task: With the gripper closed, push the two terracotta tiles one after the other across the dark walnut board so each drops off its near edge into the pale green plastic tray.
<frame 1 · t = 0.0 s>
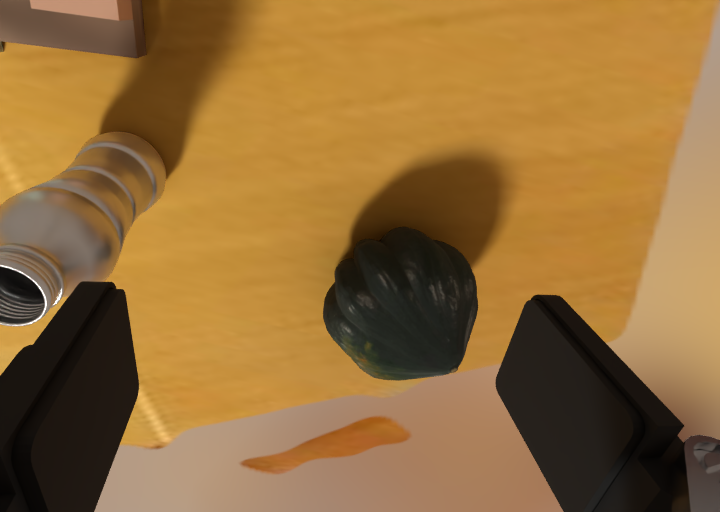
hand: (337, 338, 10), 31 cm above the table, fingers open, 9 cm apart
squash: (389, 271, 47), on the table
plastic bottle: (133, 163, 38), on the table
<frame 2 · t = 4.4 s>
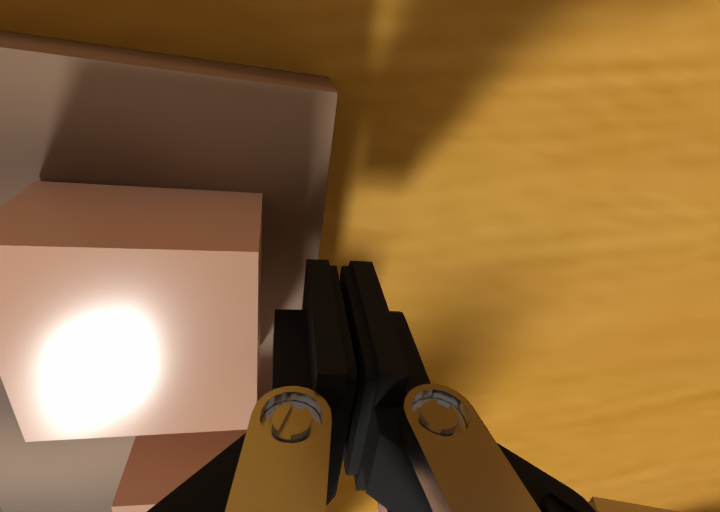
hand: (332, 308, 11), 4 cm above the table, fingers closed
tile a: (164, 276, 11), point 3 cm above the table
tile b: (224, 460, 16), point 2 cm above the table, touching board
board: (159, 327, 15), on the table
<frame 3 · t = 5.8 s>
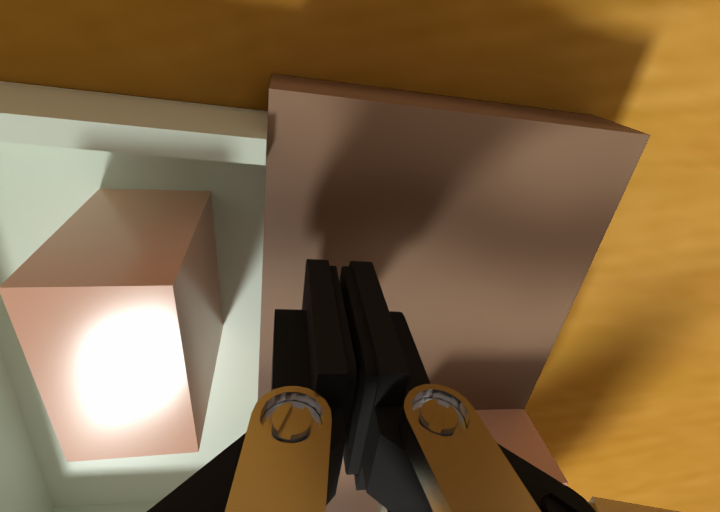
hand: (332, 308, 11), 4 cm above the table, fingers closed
tray: (133, 352, 16), on the table
tile a: (205, 311, 12), point 3 cm above the table, tilted 90°, touching tray
tile b: (447, 453, 17), point 2 cm above the table, touching board
board: (391, 334, 17), on the table
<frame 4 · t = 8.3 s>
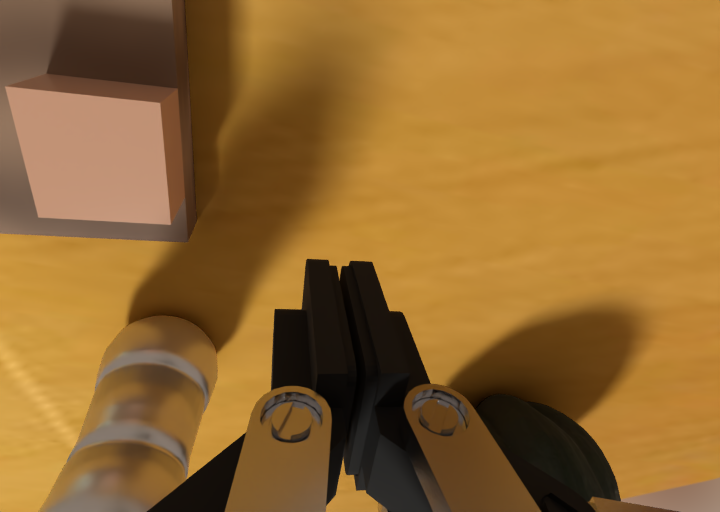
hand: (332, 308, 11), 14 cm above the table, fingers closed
squash: (480, 428, 38), on the table
tile b: (121, 140, 19), point 2 cm above the table, touching board
plastic bottle: (172, 340, 28), on the table
board: (65, 28, 19), on the table
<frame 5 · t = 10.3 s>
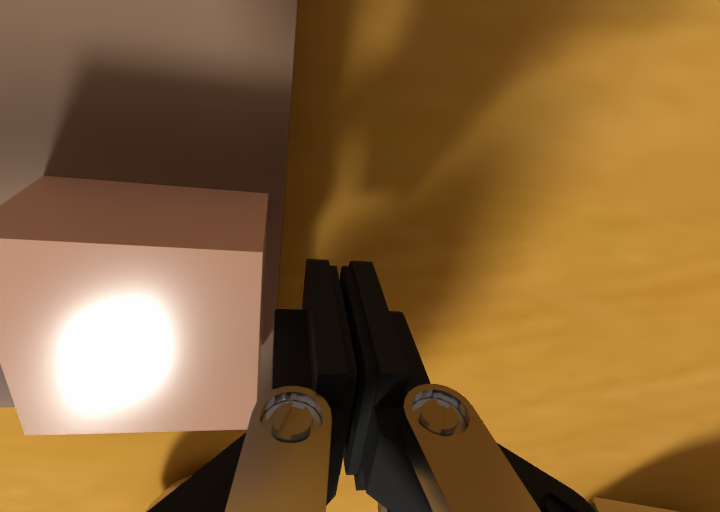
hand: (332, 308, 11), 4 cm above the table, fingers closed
tile b: (168, 273, 11), point 3 cm above the table, touching board, gripper
plastic bottle: (220, 491, 21), on the table
board: (94, 88, 11), on the table
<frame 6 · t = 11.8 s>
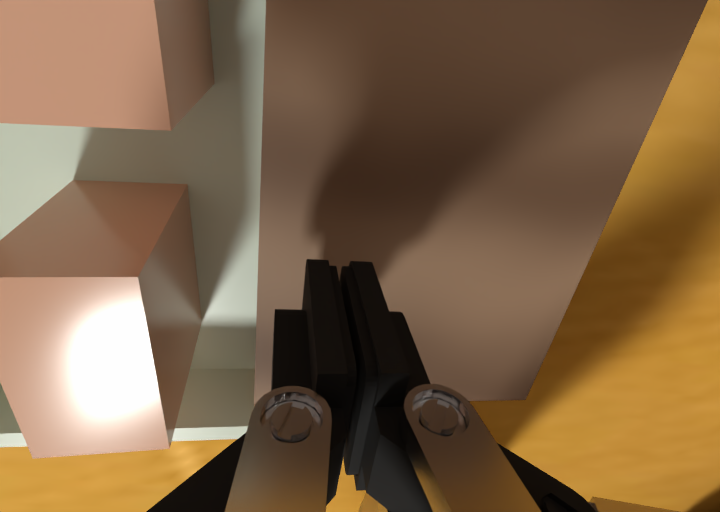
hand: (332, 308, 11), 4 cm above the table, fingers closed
tray: (95, 130, 12), on the table
tile b: (179, 305, 11), point 3 cm above the table, tilted 90°, touching tray
plastic bottle: (410, 481, 22), on the table
board: (433, 130, 13), on the table
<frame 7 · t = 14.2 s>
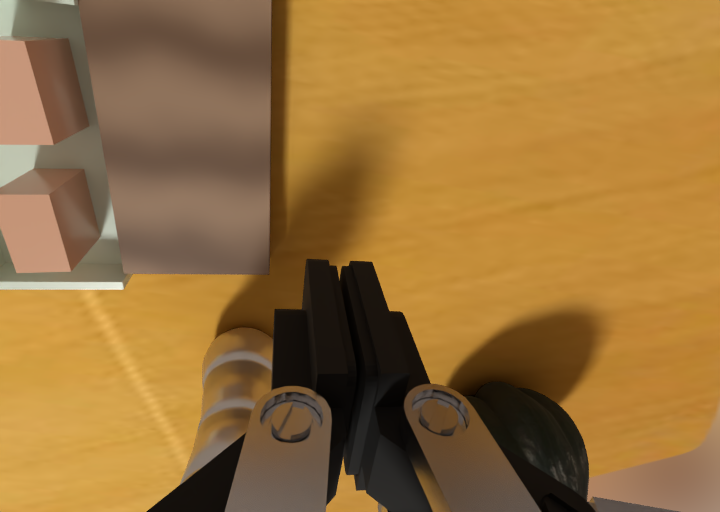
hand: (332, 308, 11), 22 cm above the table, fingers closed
squash: (480, 411, 48), on the table
tray: (42, 147, 28), on the table
tile a: (61, 89, 24), point 3 cm above the table, tilted 90°, touching tray
tile b: (77, 218, 28), point 3 cm above the table, tilted 90°, touching tray
plastic bottle: (246, 346, 38), on the table
board: (195, 141, 29), on the table
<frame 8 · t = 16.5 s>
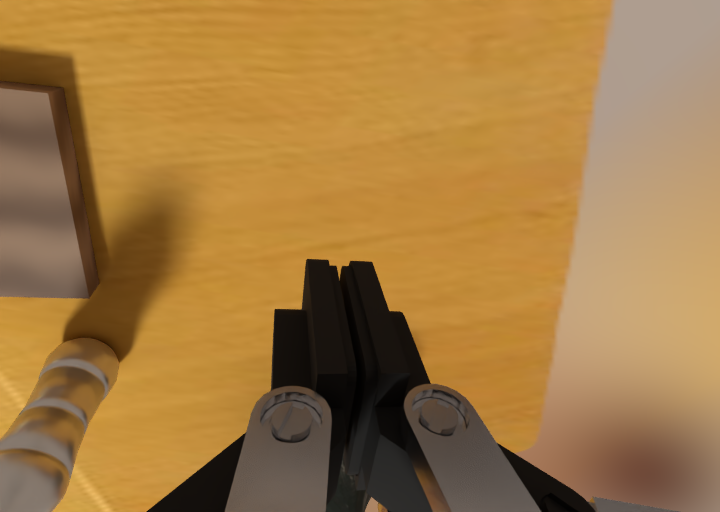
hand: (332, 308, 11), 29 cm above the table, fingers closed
squash: (318, 411, 55), on the table
plastic bottle: (92, 352, 46), on the table
board: (18, 192, 36), on the table
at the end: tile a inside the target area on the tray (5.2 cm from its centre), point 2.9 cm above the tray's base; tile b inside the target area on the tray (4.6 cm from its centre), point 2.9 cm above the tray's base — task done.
